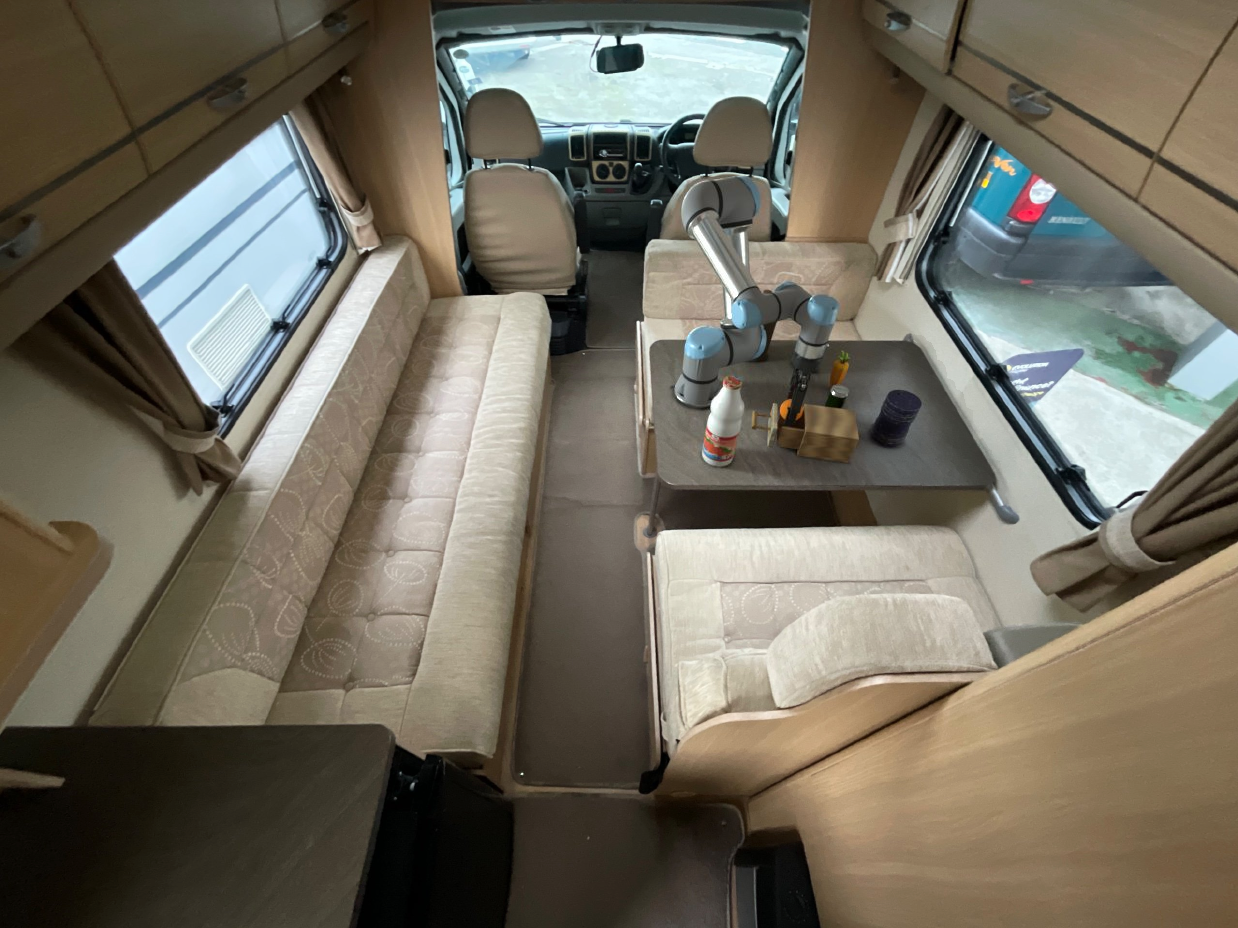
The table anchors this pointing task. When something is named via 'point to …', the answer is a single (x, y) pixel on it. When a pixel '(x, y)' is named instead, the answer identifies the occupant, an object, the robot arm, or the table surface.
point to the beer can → (837, 397)
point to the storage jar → (895, 418)
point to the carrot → (839, 370)
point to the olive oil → (769, 333)
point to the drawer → (781, 429)
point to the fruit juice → (724, 424)
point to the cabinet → (828, 433)
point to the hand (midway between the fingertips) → (788, 417)
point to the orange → (784, 410)
